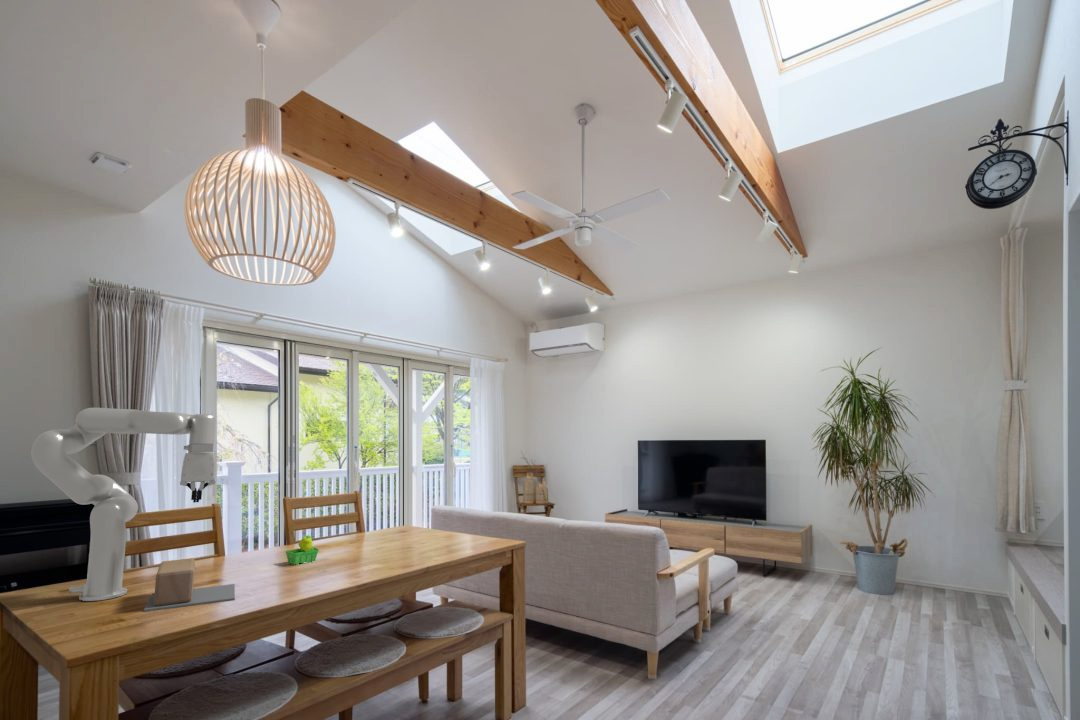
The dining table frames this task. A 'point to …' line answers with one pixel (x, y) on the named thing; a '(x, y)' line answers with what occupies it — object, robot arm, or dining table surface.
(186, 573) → the wooden block
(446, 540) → the dining table surface
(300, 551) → the fruit basket
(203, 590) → the mat
